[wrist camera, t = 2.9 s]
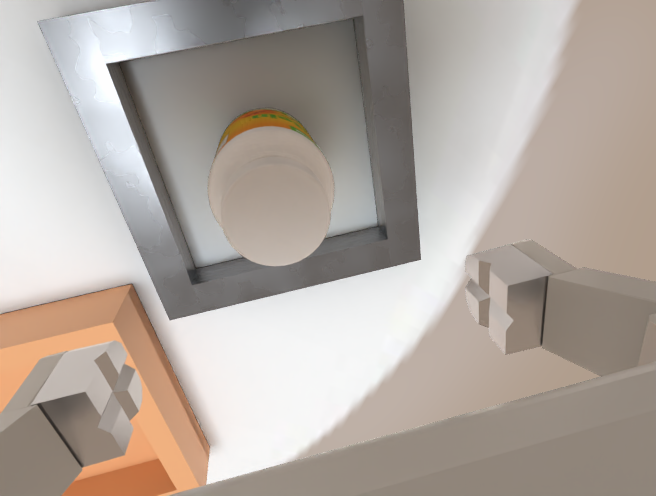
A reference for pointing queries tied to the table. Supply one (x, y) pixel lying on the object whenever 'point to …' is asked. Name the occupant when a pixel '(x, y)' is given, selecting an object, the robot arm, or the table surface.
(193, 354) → the table surface
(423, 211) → the table surface
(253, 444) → the table surface
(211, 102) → the table surface
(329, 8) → the dark grey square frame
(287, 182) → the supplement bottle
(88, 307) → the tray
